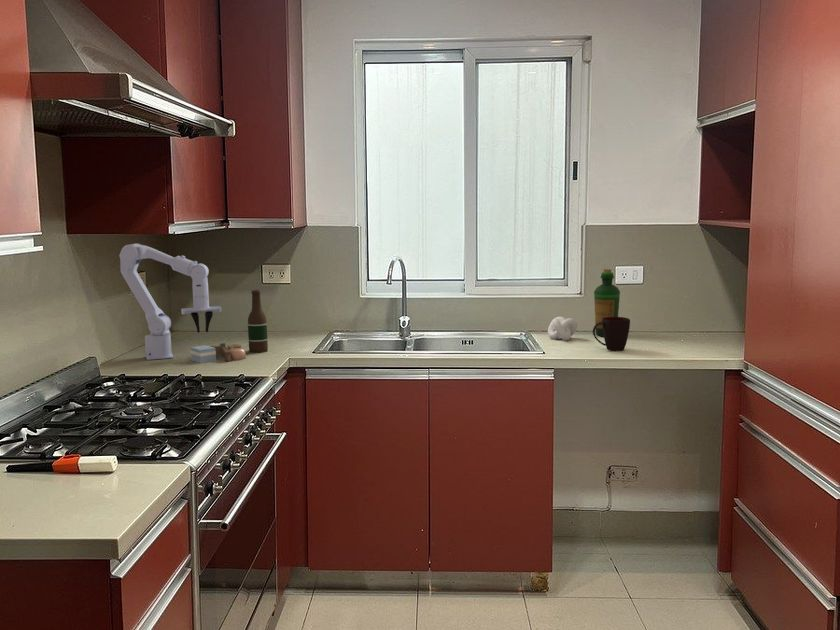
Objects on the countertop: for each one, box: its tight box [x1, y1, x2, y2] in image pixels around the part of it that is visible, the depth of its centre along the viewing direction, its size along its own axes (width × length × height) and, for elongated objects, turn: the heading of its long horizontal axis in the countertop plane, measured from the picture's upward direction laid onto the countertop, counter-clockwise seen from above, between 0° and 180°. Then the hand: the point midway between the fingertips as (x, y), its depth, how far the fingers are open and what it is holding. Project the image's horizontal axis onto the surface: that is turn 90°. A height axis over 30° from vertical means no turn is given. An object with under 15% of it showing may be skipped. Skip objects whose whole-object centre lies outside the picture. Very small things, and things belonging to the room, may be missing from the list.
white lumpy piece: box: [547, 316, 578, 342], centre depth 333 cm, size 11×12×9 cm
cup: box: [592, 316, 631, 352], centre depth 307 cm, size 10×14×12 cm
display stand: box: [209, 342, 232, 363], centre depth 300 cm, size 11×16×4 cm
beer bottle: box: [247, 289, 269, 354], centre depth 314 cm, size 8×8×24 cm
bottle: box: [593, 268, 621, 338], centre depth 337 cm, size 11×11×28 cm
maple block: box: [226, 343, 242, 350], centre depth 307 cm, size 4×4×4 cm
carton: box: [190, 344, 217, 364], centre depth 298 cm, size 6×8×5 cm
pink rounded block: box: [229, 347, 246, 361], centre depth 300 cm, size 6×6×4 cm
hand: (202, 331), depth 305 cm, fingers closed
